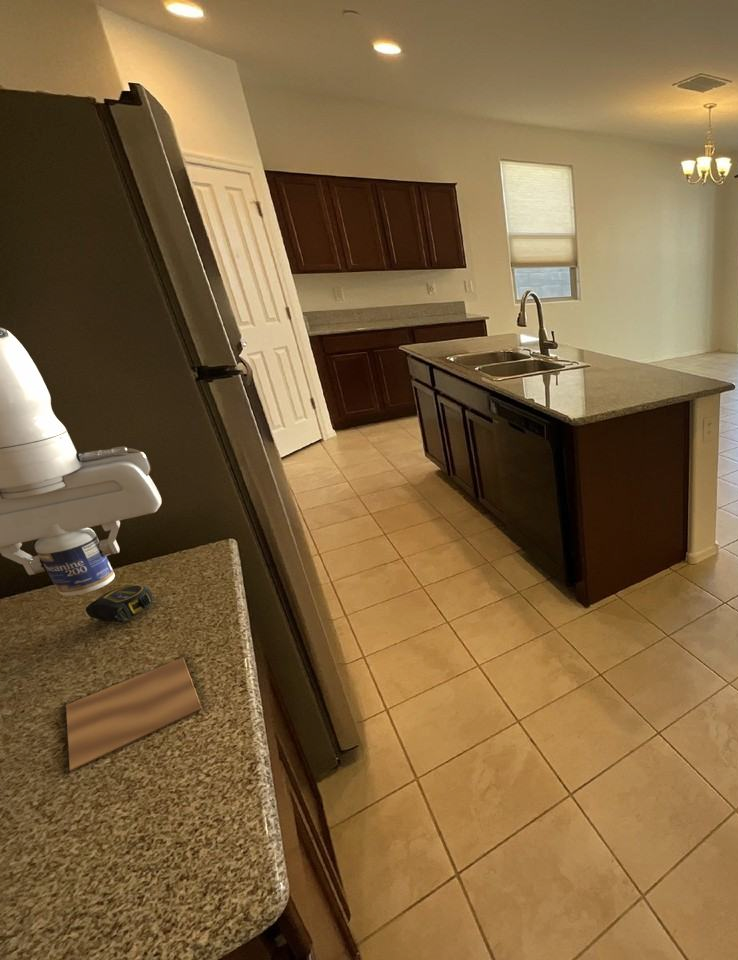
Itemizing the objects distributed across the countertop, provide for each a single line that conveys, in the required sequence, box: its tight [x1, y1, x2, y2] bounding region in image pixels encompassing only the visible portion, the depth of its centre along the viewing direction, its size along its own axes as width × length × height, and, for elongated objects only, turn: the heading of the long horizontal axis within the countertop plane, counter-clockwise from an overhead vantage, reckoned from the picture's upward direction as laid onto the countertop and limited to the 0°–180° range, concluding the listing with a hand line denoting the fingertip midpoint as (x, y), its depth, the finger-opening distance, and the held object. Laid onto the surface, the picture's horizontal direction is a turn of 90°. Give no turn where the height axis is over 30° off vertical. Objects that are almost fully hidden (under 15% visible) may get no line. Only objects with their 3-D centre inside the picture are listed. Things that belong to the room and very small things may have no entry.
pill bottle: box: [34, 525, 116, 597], centre depth 67 cm, size 5×5×10 cm
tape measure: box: [85, 584, 154, 623], centre depth 85 cm, size 7×7×4 cm
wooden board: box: [65, 657, 203, 772], centre depth 67 cm, size 14×12×1 cm
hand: (76, 562), depth 67 cm, fingers closed on pill bottle, 5 cm apart
